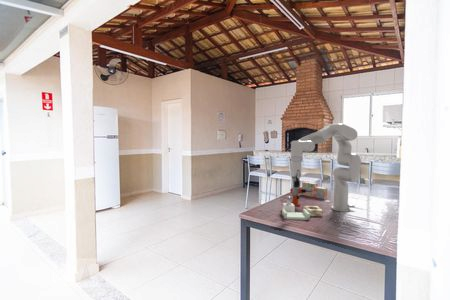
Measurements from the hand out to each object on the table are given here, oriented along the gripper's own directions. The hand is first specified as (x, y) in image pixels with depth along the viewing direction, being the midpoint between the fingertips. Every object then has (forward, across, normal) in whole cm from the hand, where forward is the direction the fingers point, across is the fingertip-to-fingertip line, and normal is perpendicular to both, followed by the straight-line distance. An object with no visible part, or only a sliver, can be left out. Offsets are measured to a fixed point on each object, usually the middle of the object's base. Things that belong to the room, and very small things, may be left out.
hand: (295, 186), depth 152 cm
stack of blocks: (+21, -58, +31) cm, 69 cm away
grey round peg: (+6, 0, 0) cm, 6 cm away
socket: (+21, -8, +14) cm, 26 cm away
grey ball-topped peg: (+20, -12, -2) cm, 24 cm away
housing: (+21, -12, -2) cm, 24 cm away
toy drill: (+21, -25, +10) cm, 34 cm away
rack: (+21, 0, 0) cm, 21 cm away
